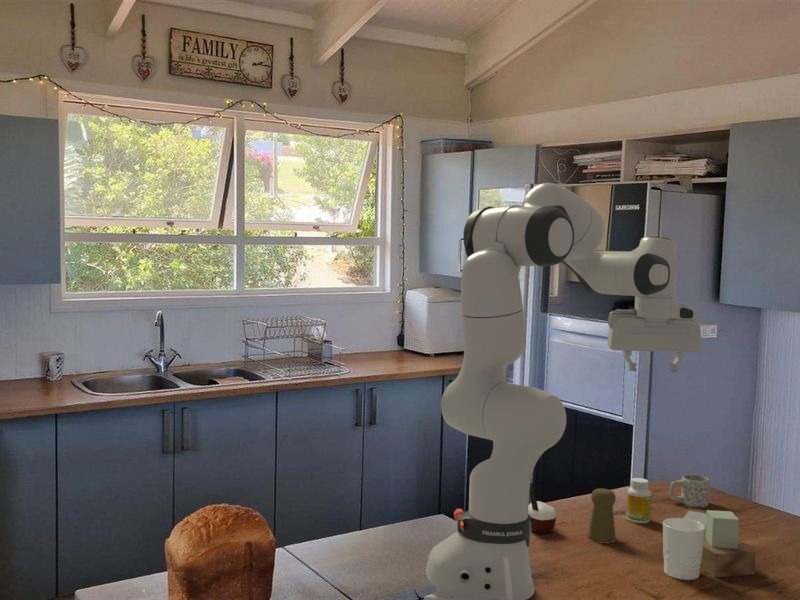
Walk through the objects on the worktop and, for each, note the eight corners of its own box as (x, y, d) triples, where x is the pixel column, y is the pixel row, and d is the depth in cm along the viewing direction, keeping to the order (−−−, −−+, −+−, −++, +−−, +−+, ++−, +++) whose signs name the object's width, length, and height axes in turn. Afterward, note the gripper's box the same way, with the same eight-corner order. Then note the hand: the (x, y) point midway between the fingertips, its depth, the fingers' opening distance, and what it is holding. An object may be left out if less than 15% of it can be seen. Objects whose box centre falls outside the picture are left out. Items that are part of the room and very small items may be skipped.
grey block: (679, 543, 179) (680, 521, 179) (687, 531, 187) (688, 510, 187) (722, 552, 175) (724, 529, 175) (729, 539, 183) (730, 517, 182)
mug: (701, 499, 212) (702, 474, 211) (713, 507, 205) (714, 481, 205) (664, 499, 211) (665, 474, 211) (674, 507, 204) (675, 481, 204)
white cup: (662, 563, 167) (664, 515, 166) (703, 569, 164) (705, 521, 164) (659, 577, 160) (661, 527, 159) (702, 584, 157) (704, 533, 156)
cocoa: (549, 526, 189) (552, 475, 189) (564, 534, 183) (567, 481, 183) (514, 529, 186) (516, 476, 186) (528, 537, 180) (531, 483, 180)
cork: (616, 544, 177) (618, 494, 177) (588, 541, 179) (590, 492, 178) (614, 535, 183) (616, 487, 183) (587, 532, 184) (589, 484, 184)
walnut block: (714, 578, 160) (715, 554, 160) (688, 561, 169) (689, 538, 169) (754, 575, 162) (755, 551, 162) (726, 558, 171) (727, 535, 171)
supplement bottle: (646, 525, 190) (648, 484, 190) (623, 520, 193) (625, 480, 192) (652, 519, 195) (654, 479, 194) (630, 514, 198) (631, 475, 197)
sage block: (711, 547, 164) (713, 518, 164) (705, 538, 169) (706, 510, 169) (737, 548, 163) (739, 519, 163) (730, 539, 168) (731, 511, 168)
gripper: (612, 309, 178) (610, 372, 179) (705, 311, 179) (702, 374, 179) (605, 307, 185) (602, 368, 186) (694, 309, 185) (692, 369, 186)
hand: (652, 371), depth 183 cm, fingers open, 8 cm apart
